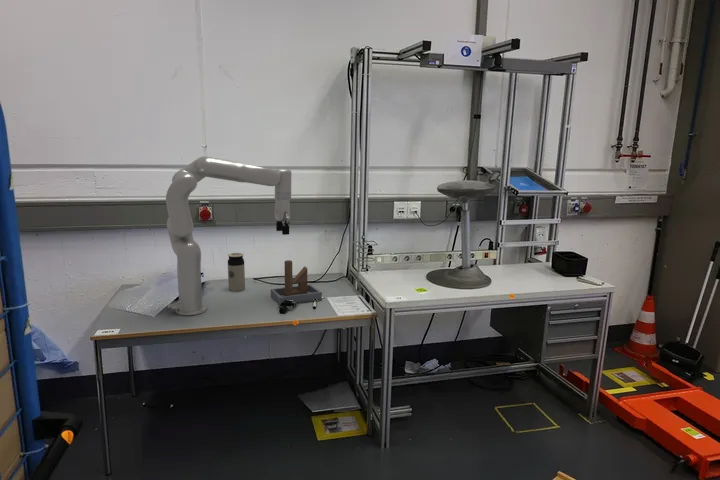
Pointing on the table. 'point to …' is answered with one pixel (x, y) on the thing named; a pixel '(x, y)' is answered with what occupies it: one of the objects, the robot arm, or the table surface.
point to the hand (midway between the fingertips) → (282, 232)
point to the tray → (301, 298)
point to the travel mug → (236, 272)
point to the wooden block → (295, 280)
